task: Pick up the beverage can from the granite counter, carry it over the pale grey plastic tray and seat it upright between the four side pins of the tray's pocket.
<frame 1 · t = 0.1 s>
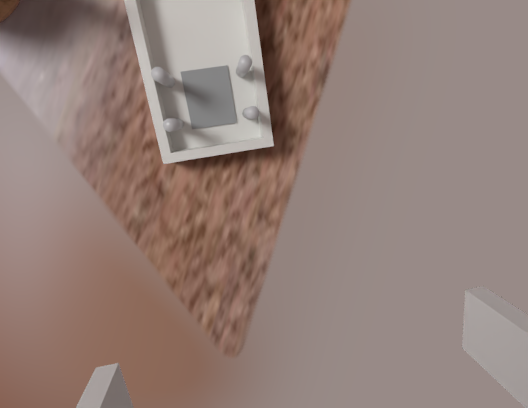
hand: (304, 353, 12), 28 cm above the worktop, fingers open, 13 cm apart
tray: (204, 70, 34), on the worktop
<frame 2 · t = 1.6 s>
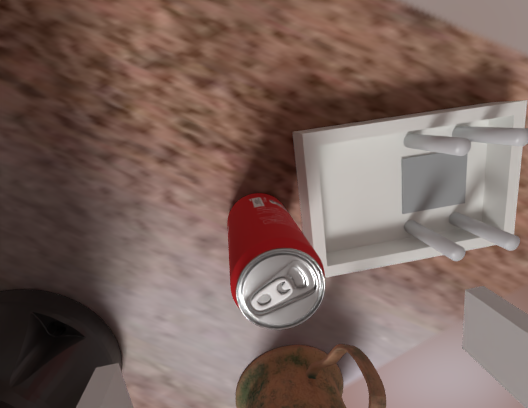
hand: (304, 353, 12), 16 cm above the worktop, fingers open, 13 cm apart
beverage can: (256, 218, 28), on the worktop
tray: (395, 184, 28), on the worktop
mug: (297, 366, 33), on the worktop
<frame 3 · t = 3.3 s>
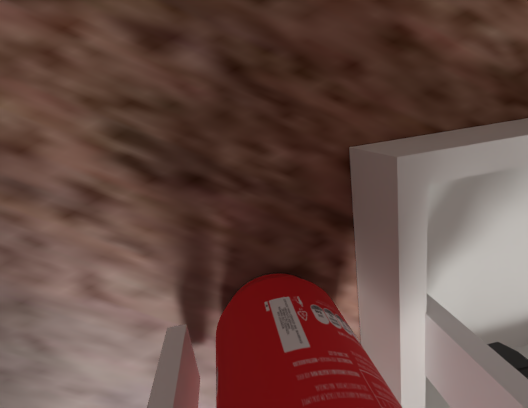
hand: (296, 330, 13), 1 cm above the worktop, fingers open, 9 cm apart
beverage can: (273, 314, 14), on the worktop
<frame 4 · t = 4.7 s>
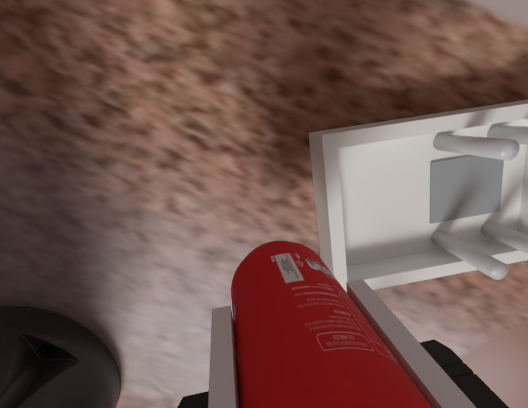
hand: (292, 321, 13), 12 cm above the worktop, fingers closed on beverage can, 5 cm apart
beverage can: (276, 275, 17), point 8 cm above the worktop, touching gripper
tray: (422, 190, 25), on the worktop
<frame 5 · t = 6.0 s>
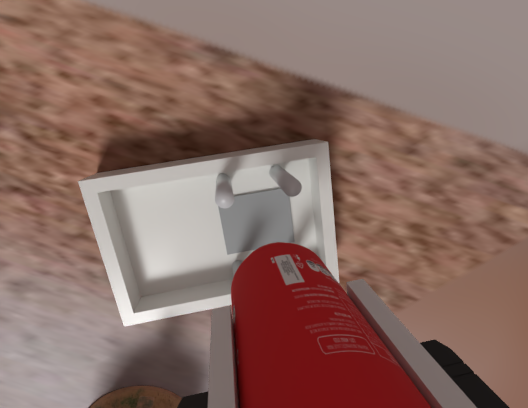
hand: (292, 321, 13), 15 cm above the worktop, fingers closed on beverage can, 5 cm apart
beverage can: (276, 277, 17), point 11 cm above the worktop, touching gripper
tray: (222, 223, 27), on the worktop
mug: (145, 406, 32), on the worktop
when the fingers open (3 cm above the worktop, at t = 8.4 s): beverage can stays where it is, resting on tray.
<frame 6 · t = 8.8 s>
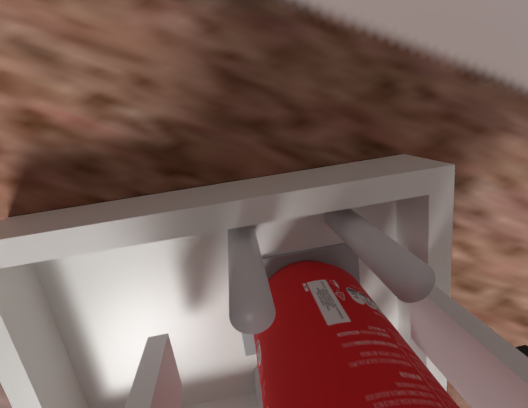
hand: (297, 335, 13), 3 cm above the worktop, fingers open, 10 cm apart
beverage can: (303, 299, 15), point 1 cm above the worktop, touching tray
tray: (236, 298, 16), on the worktop
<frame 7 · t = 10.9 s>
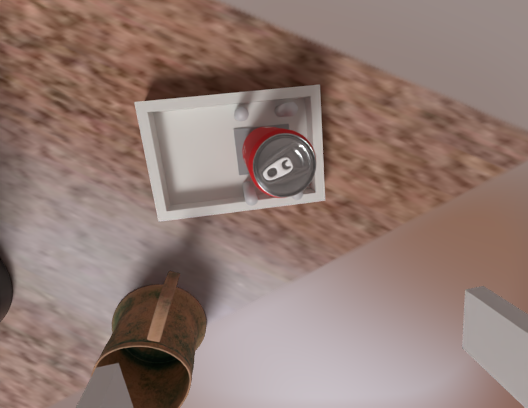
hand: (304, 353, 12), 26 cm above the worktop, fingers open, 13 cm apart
beverage can: (265, 150, 34), point 1 cm above the worktop, touching tray
tray: (236, 151, 35), on the worktop
mug: (166, 303, 39), on the worktop
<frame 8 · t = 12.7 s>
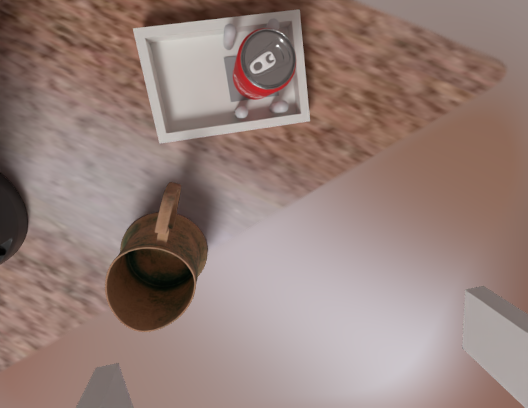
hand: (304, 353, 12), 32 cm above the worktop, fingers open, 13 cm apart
beverage can: (253, 77, 38), point 1 cm above the worktop, touching tray
tray: (227, 81, 38), on the worktop
mug: (170, 231, 43), on the worktop
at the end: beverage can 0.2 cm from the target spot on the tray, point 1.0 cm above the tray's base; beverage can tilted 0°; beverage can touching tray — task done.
